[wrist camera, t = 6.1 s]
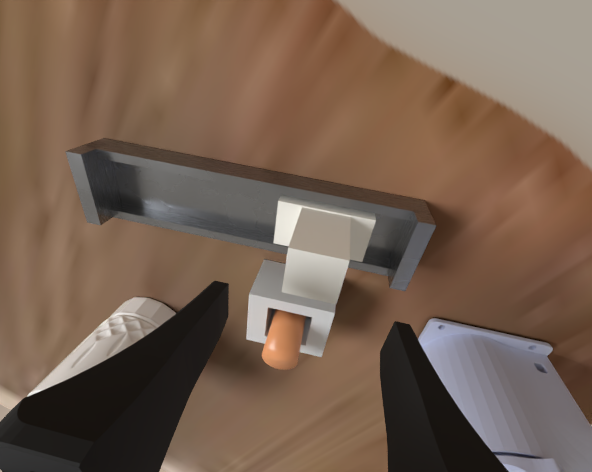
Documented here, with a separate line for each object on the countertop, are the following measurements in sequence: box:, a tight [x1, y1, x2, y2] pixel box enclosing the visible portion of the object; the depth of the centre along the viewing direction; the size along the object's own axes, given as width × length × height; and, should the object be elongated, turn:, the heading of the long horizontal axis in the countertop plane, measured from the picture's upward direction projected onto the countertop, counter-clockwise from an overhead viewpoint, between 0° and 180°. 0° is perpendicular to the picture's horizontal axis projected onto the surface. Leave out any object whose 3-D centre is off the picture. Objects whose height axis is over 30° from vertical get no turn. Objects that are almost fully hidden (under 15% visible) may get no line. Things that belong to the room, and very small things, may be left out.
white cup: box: [27, 297, 176, 397], centre depth 26 cm, size 8×8×10 cm
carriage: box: [274, 195, 376, 304], centre depth 17 cm, size 6×3×6 cm, turn 82°
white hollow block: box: [246, 259, 336, 357], centre depth 23 cm, size 6×5×4 cm
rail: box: [65, 138, 436, 291], centre depth 19 cm, size 22×5×3 cm, turn 82°
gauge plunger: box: [262, 309, 306, 370], centre depth 21 cm, size 2×2×4 cm
